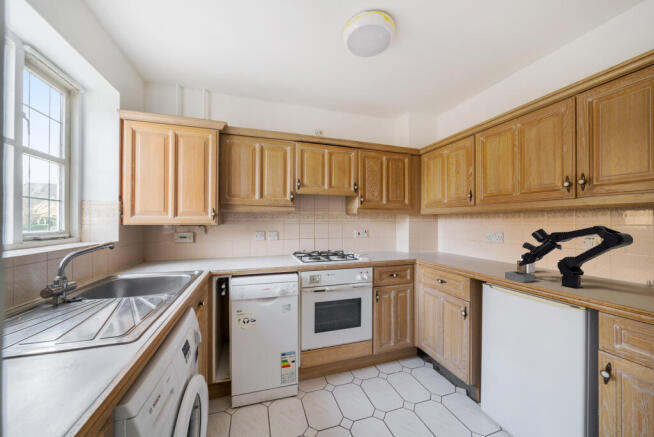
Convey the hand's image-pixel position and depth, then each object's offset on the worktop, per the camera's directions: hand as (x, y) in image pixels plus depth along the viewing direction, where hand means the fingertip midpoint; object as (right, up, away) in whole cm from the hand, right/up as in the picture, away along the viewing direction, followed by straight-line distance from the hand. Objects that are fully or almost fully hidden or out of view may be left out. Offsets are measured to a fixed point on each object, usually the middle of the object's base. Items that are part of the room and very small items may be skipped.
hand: (521, 264), depth 154 cm
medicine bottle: (+15, -8, +16) cm, 23 cm away
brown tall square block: (0, -8, 0) cm, 8 cm away
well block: (-7, -8, -7) cm, 13 cm away
